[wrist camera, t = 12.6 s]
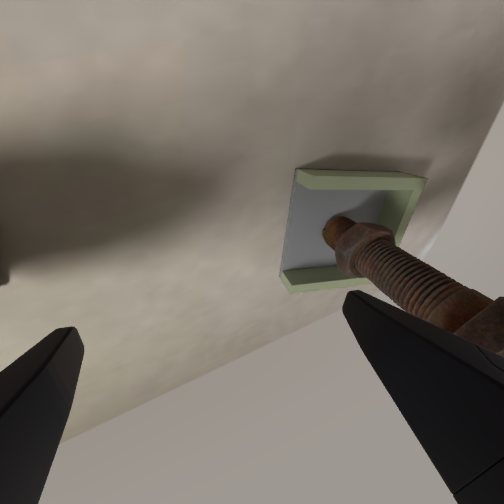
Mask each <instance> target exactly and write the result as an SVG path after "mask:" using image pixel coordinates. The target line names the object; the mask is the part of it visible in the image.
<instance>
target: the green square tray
mask: <svg viewBox="0 0 504 504" xmlns="http://www.w3.org/2000/svg"><path fill="white" fill-rule="evenodd" d="M427 179H428V178H424V177H420V176H416V175H411V174H407V173H403V172H392V171H358V170H325V169H295V175H294V182H293V189H292V195H291V202H290V208H289V215H288V221H287V228H286V234H285V241H284V247H283V254H282V261H281V267H280V274H279V277H280V278H281V280H282V282H283V283H284V285H285V286H286V288H287V290H288V291H289V293H290V294H294V293H302V292H310V291H318V290H326V289H334V288H342V287H350V286H358V285H367V284H373V283H372V282H371V281H370V280H368V279H367V278H356V277H351V276H346V275H345V274H344V273H343V272H342V271H341V270H340V269H339V268H338V265H337V262H336V257H335V251H334V250H333V249H332V248H331V247H329V246H328V245H327V244H326V242H325V240H324V238H323V237H322V230H323V229H324V230H325V231H326V228H325V224H326V222H327V221H328V220H330V219H332V218H334V217H337V216H345V217H347V218H349V219H351V220H353V221H355V222H356V223H360V222H368V223H374V224H379V225H383V226H385V227H387V228H388V229H390V230H392V231H393V233H394V237H395V243H396V246H397V247H399V245H400V242H401V240H402V238H403V235H404V233H405V230H406V228H407V226H408V223H409V221H410V219H411V216H412V214H413V212H414V209H415V207H416V205H417V202H418V200H419V198H420V195H421V193H422V190H423V188H424V186H425V183H426V181H427Z"/></svg>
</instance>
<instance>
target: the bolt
mask: <svg viewBox="0 0 504 504" xmlns="http://www.w3.org/2000/svg"><path fill="white" fill-rule="evenodd" d="M325 228H326V231H325V230H324V229H323V230H322V237H323V238H324V240H325V242H326V244H327V245H328V246H329V247H331V248H332V249H333V250H334V251H335V257H336V262H337V265H338V268H339V269H340V270H341V271H342V272H343V273H344V274H345V275H346V276H351V277H356V278H367V279H368V280H370V281H371V282H372V283H373V284H374V285H375V286H376V287H377V288H379V290H381V291H382V292H383V293H384V294H385V295H387V296H388V297H389V298H390V299H391V300H393V301H394V303H396V304H397V305H398V306H400V307H401V308H402V309H403V310H405V311H406V312H408V313H410V314H412V315H414V316H416V317H418V318H420V319H423V320H425V321H427V322H429V323H431V324H433V325H436V326H438V327H440V328H442V329H444V330H446V331H448V332H451V333H453V334H455V335H457V336H459V337H461V338H464V339H466V340H468V341H470V342H472V343H473V344H477V345H479V346H481V347H483V348H485V349H487V350H489V351H492V352H494V353H496V354H498V355H501V356H503V357H504V297H499V298H498V299H496V300H495V301H493V300H492V299H490V298H488V297H486V296H485V295H483V294H481V293H480V292H478V291H476V290H474V289H469V288H468V287H466V286H463V285H462V284H460V283H459V282H456V281H455V280H454V279H451V278H450V277H448V276H446V275H445V274H444V273H441V272H440V271H438V270H436V269H435V268H433V267H431V266H430V265H428V264H426V263H425V262H423V261H421V260H420V259H417V258H416V257H413V256H412V255H411V254H409V253H407V252H405V251H404V250H402V249H401V248H399V247H397V246H396V243H395V237H394V233H393V231H392V230H390V229H388V228H387V227H385V226H383V225H379V224H374V223H368V222H360V223H356V222H355V221H353V220H351V219H349V218H347V217H345V216H337V217H334V218H332V219H330V220H328V221H327V222H326V224H325Z"/></svg>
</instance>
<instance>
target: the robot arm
mask: <svg viewBox="0 0 504 504" xmlns="http://www.w3.org/2000/svg"><path fill="white" fill-rule="evenodd" d="M342 310H343V314H344V316H345V318H346V320H347V322H348V324H349V326H350V328H351V330H352V332H353V333H354V336H355V338H356V340H357V342H358V344H359V345H360V347H361V349H362V351H363V352H364V354H365V356H366V357H367V359H368V361H369V362H370V364H371V365H372V367H373V369H374V370H375V372H376V373H377V375H378V377H379V378H380V380H381V381H382V383H383V385H384V386H385V388H386V389H387V391H388V393H389V394H390V395H391V397H392V399H393V401H394V402H395V404H396V405H397V407H398V408H399V410H400V411H401V413H402V415H403V417H404V418H405V420H406V421H407V423H408V425H409V426H410V428H411V429H412V431H413V432H414V434H415V436H416V437H417V439H418V440H419V442H420V444H421V445H422V447H423V448H424V450H425V452H426V453H427V455H428V456H429V458H430V460H431V461H432V463H433V464H434V466H435V468H436V469H437V470H438V472H439V474H440V475H441V477H442V479H443V480H444V482H445V484H446V485H447V487H448V488H449V490H450V492H451V493H452V494H453V497H454V498H455V500H456V501H457V503H458V504H504V357H503V356H501V355H498V354H496V353H494V352H492V351H489V350H487V349H485V348H483V347H481V346H479V345H477V344H473V343H472V342H470V341H468V340H466V339H464V338H461V337H459V336H457V335H455V334H453V333H451V332H448V331H446V330H444V329H442V328H440V327H438V326H436V325H433V324H431V323H429V322H427V321H425V320H423V319H420V318H418V317H416V316H414V315H412V314H410V313H408V312H405V311H403V310H401V309H399V308H397V307H395V306H392V305H390V304H388V303H386V302H384V301H382V300H379V299H377V298H375V297H373V296H371V295H369V294H367V293H364V292H362V291H360V290H354V291H349V292H348V293H347V295H346V298H345V301H344V304H343V307H342ZM83 356H84V345H83V343H82V340H81V338H80V335H79V333H78V331H77V329H76V328H75V327H64V328H58V329H56V330H54V331H53V332H51V333H50V334H49V335H48V336H46V337H45V338H44V339H42V340H41V341H40V342H39V343H37V344H36V345H35V346H33V347H32V348H31V349H30V350H28V351H27V352H26V353H24V354H23V355H22V356H20V357H19V358H18V359H17V360H15V361H14V362H13V363H11V364H10V365H9V366H8V367H6V368H5V369H4V370H2V371H1V372H0V504H38V502H39V500H40V497H41V493H42V491H43V488H44V485H45V482H46V479H47V476H48V474H49V471H50V468H51V465H52V462H53V460H54V457H55V454H56V451H57V448H58V445H59V442H60V440H61V437H62V434H63V431H64V428H65V425H66V422H67V420H68V416H69V413H70V410H71V407H72V403H73V399H74V394H75V390H76V386H77V382H78V377H79V373H80V369H81V364H82V360H83Z"/></svg>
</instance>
